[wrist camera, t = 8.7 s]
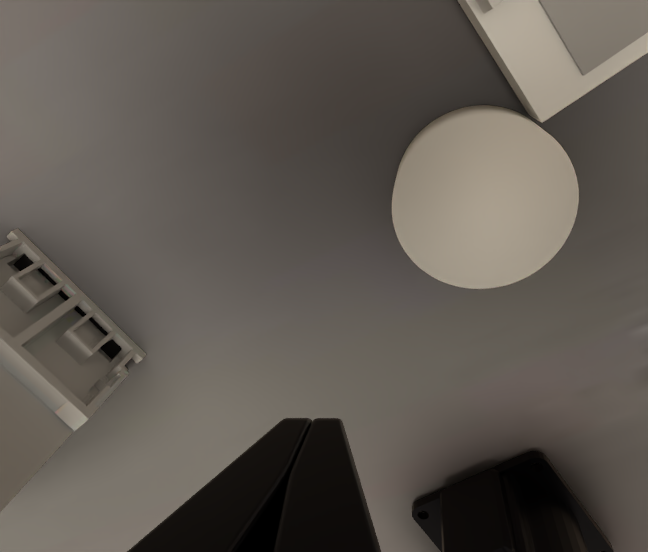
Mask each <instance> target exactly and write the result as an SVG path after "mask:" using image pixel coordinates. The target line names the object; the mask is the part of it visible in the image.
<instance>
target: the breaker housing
mask: <svg viewBox="0 0 648 552" xmlns="http://www.w3.org/2000/svg"><path fill="white" fill-rule="evenodd" d="M457 1H458V2H459V4H460V6H461V7H462V9H463V10H464V12H465V14H466V15H467V17H468V18H469V20H470V22H471V23H472V25H473V26H474V28H475V30H476V31H477V33H478V34H479V36H480V38H481V39H482V41H483V42H484V44H485V46H486V47H487V49H488V50H489V52H490V54H491V55H492V57H493V58H494V60H495V62H496V63H497V65H498V66H499V68H500V70H501V71H502V73H503V74H504V76H505V78H506V79H507V81H508V82H509V84H510V86H511V87H512V89H513V90H514V92H515V94H516V95H517V97H518V98H519V100H520V102H521V103H522V105H523V106H524V108H525V110H526V111H527V113H528V114H529V116H531V117H533V118H534V119H536V120H538V121H540V122H541V123H543V122H544V121H546V120H547V119H549V118H550V117H552V116H553V115H555V114H556V113H558V112H559V111H561V110H562V109H564V108H565V107H567V106H568V105H570V104H571V103H573V102H574V101H576V100H577V99H579V98H580V97H582V96H583V95H585V94H586V93H588V92H589V91H591V90H592V89H594V88H595V87H597V86H598V85H600V84H601V83H603V82H604V81H606V80H607V79H609V78H610V77H612V76H613V75H615V74H616V73H618V72H619V71H621V70H622V69H624V68H625V67H627V66H628V65H630V64H631V63H633V62H634V61H636V60H637V59H639V58H640V57H642V56H643V55H645V54H646V53H648V0H457Z"/></svg>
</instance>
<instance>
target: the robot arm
mask: <svg viewBox="0 0 648 552" xmlns="http://www.w3.org/2000/svg"><path fill="white" fill-rule="evenodd" d="M536 462H537V463H540V464H538V465H535V466H534V465H531V464H533V463H536ZM420 511H426V512H424V513H423V512H420ZM412 517H413V518H414V520H415V521H416V522H417V523H418V525H419V526H420V527H421V528H422V529H423V531H424V532H425V533H426V534H427V535H428V536H429V538H430V539H431V540H432V541H433V542H434V544H435V545H436V546H437V547H438V548H439V549H440V551H441V552H599V551H602V552H614V551H613V548H612V546H611V543H610V542H609V541H608V539H607V538H606V537H605V535H604V534H603V533H602V531H601V530H600V529H599V527H598V526H597V525H596V523H595V522H594V520H593V519H592V518H591V516H590V515H589V514H588V512H587V511H586V510H585V508H584V507H583V506H582V504H581V503H580V502H579V500H578V499H577V497H576V496H575V495H574V493H573V492H572V491H571V489H570V488H569V487H568V485H567V484H566V483H565V481H564V480H563V479H562V477H561V476H560V474H559V473H558V472H557V470H556V469H555V468H554V466H553V465H552V464H551V462H550V461H549V460H548V458H547V457H546V456H545V455H544V454H543V453H541V452H539V451H531V452H528V453H526V454H523V455H521V456H519V457H516V458H514V459H512V460H509V461H507V462H505V463H503V464H500V465H498V466H496V467H493V468H491V469H489V470H486V471H484V472H482V473H480V474H477V475H475V476H473V477H470V478H468V479H466V480H463V481H461V482H459V483H457V484H454V485H452V486H450V487H447V488H445V489H443V490H440V491H438V492H436V493H434V494H431V495H429V496H427V497H424V498H422V499H420V500H417V501H416V502H414V503H413V505H412ZM128 552H381V550H380V546H379V543H378V539H377V536H376V533H375V529H374V526H373V523H372V519H371V516H370V513H369V509H368V506H367V503H366V499H365V496H364V492H363V489H362V486H361V482H360V479H359V476H358V472H357V469H356V466H355V462H354V459H353V455H352V452H351V449H350V445H349V442H348V439H347V435H346V432H345V429H344V425H343V422H342V421H341V420H340V419H338V418H317V419H315V420H313V422H312V420H311V419H309V418H286V419H283V420H282V421H280V422H279V423H278V424H277V425H276V426H275V427H273V428H272V429H271V430H270V431H269V432H267V433H266V434H265V435H264V436H263V437H262V438H260V439H259V440H258V441H257V442H256V443H255V444H253V445H252V446H251V447H250V448H249V449H247V450H246V451H245V452H244V453H243V454H242V455H240V456H239V457H238V458H237V459H236V460H235V461H233V462H232V463H231V464H230V465H229V466H227V467H226V468H225V469H224V470H223V471H222V472H220V473H219V474H218V475H217V476H216V477H215V478H213V479H212V480H211V481H210V482H209V483H207V484H206V485H205V486H204V487H203V488H202V489H200V490H199V491H198V492H197V493H196V494H195V495H193V496H192V497H191V498H190V499H189V500H187V501H186V502H185V503H184V504H183V505H182V506H180V507H179V508H178V509H177V510H176V511H175V512H173V513H172V514H171V515H170V516H169V517H167V518H166V519H165V520H164V521H163V522H162V523H160V524H159V525H158V526H157V527H156V528H155V529H153V530H152V531H151V532H150V533H149V534H148V535H146V536H145V537H144V538H143V539H142V540H140V541H139V542H138V543H137V544H136V545H135V546H133V547H132V548H131V549H130V550H129V551H128Z"/></svg>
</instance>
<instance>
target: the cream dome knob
mask: <svg viewBox="0 0 648 552" xmlns="http://www.w3.org/2000/svg"><path fill="white" fill-rule="evenodd" d="M578 203H579V188H578V182H577V177H576V173H575V170H574V167H573V165H572V163H571V161H570V159H569V157H568V155H567V153H566V152H565V151H564V149H563V148H562V146H561V145H560V144H559V143H558V142H557V141H556V140H555V139H554V138H553V137H552V136H551V135H550V134H548V133H547V132H546V131H544V130H543V129H542V128H541V127H539V126H538V125H537V124H536V123H534V122H533V121H532V120H530V119H529V118H527V117H526V116H524V115H522V114H520V113H518V112H516V111H513V110H511V109H508V108H503V107H499V106H491V105H475V106H469V107H463V108H460V109H457V110H453V111H451V112H449V113H446V114H444V115H442V116H440V117H439V118H437V119H435V120H434V121H432V122H431V123H430V124H428V125H427V126H426V127H425V128H423V129H422V130H421V131H420V132H419V134H418V135H417V136H416V137H415V138H414V139H413V141H412V142H411V143H410V144H409V146H408V148H407V150H406V151H405V153H404V155H403V157H402V160H401V162H400V164H399V168H398V172H397V176H396V180H395V185H394V190H393V196H392V219H393V225H394V228H395V232H396V235H397V237H398V240H399V242H400V244H401V246H402V247H403V249H404V251H405V252H406V254H407V255H408V256H409V257H410V259H411V260H412V261H413V262H414V263H415V264H416V265H417V266H418V267H419V268H420V269H422V270H423V271H424V272H426V273H427V274H428V275H430V276H432V277H434V278H436V279H437V280H439V281H442V282H444V283H447V284H450V285H454V286H457V287H462V288H469V289H488V288H496V287H501V286H505V285H509V284H512V283H515V282H517V281H520V280H522V279H524V278H526V277H528V276H530V275H531V274H533V273H535V272H536V271H538V270H539V269H540V268H542V267H543V266H544V265H546V264H547V263H548V262H549V261H550V260H551V259H552V258H553V257H554V256H555V255H556V254H557V252H558V251H559V250H560V249H561V247H562V246H563V245H564V243H565V241H566V240H567V238H568V236H569V234H570V232H571V230H572V228H573V225H574V222H575V219H576V215H577V210H578Z"/></svg>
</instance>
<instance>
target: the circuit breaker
mask: <svg viewBox="0 0 648 552" xmlns="http://www.w3.org/2000/svg"><path fill="white" fill-rule="evenodd" d="M7 238H8V239H9V240H10V241H11V242H9V243H7V244H5V245H3V246H0V512H1V511H2V510H3V509H4V508H5V506H6V505H7V504H8V503H9V502H10V501H11V500H12V499H13V498H14V497H15V495H16V494H17V493H18V492H19V491H20V490H21V489H22V488H23V487H24V486H25V484H26V483H27V482H28V481H29V480H30V479H31V478H32V477H33V476H34V474H35V473H36V472H37V471H38V470H39V469H40V468H41V467H42V466H43V465H44V463H45V462H46V461H47V460H48V459H49V458H50V457H51V456H52V455H53V454H54V452H55V451H56V450H57V449H58V448H59V447H60V446H61V445H62V444H63V443H64V441H65V440H66V439H67V438H68V437H69V436H70V435H71V434H72V433H73V432H74V431H76V430H77V429H78V428H79V427H80V426H81V425H82V424H84V423H85V422H86V421H87V420H88V419H89V418H90V417H91V416H92V415H93V414H94V413H95V411H96V410H97V409H98V408H99V407H100V406H101V405H102V404H103V402H104V401H105V400H106V399H107V398H108V397H109V396H110V395H111V394H112V392H113V391H114V390H115V389H116V388H117V387H118V386H119V385H120V384H121V382H122V381H123V380H124V379H125V378H126V377H127V376H128V375H129V373H128V372H127V371H128V369H127V368H126V367H125V366H124V365H125V364H126V363H127V362H128V361H129V360H130V359H131V358H132V359H133V360H134V361H135V362H136V363H138V362H140V361H141V360H142V359H143V358H144V357H145V356H146V355H147V354H146V353H145V352H144V351H143V350H142V349H140V348H139V347H138V346H137V345H136V344H135V343H134V342H133V341H132V340H131V339H130V338H129V337H128V336H127V335H126V334H125V333H124V332H123V331H122V330H121V329H120V328H119V327H118V326H117V325H116V324H115V323H114V322H113V321H112V320H111V319H110V318H109V317H108V316H107V315H106V314H105V313H104V312H103V311H102V310H101V309H100V308H99V307H98V306H97V305H96V304H95V303H94V302H93V301H91V300H90V299H89V298H88V297H87V296H86V295H85V294H84V293H83V292H82V291H81V290H80V289H79V288H78V287H77V286H76V285H75V284H74V283H73V282H72V281H71V280H70V279H69V278H68V277H67V276H66V275H65V274H64V273H63V272H62V271H61V270H60V269H59V268H58V267H57V266H56V265H55V264H54V263H53V262H52V261H51V260H50V259H49V258H48V257H47V256H46V255H45V254H44V253H42V252H41V251H40V250H39V249H38V248H37V247H36V246H35V245H34V244H33V243H32V242H31V241H30V240H29V239H28V238H27V237H26V236H25V235H24V234H23V233H22V232H21V231H20V230H19V229H18V228H17V229H15V230H13V231H11V232H10V233H9V235H8V236H7ZM24 254H25V255H26V256H27V257H28V258H29V259H30V260H32V261H33V262H34V264H32V265H30V266H28V267H27V268H25V269H23V270H22V271H19V270H18V269H17V268H16V267H15V266H14V265H13V264H14V263H15V262H17V261H18V260H19V259H20V258H21V257H22V256H23V255H24ZM40 267H41V268H42V269H43V270H44V271H45V272H46V273H47V274H48V275H49V276H50V277H51V278H52V279H53V280H54V281H55V282H56V283H57V284H56V285H55V286H54V285H53V284H52V283H51V282H50V281H48V280H47V279H46V278H45V277H44V276H43V275H42V274H41V273H40V272H39V271H38V270H37V269H38V268H40ZM61 290H62V291H63V292H64V293H65V294H66V295H67V296H68V297H69V299H68V300H67V301H65V300H64V299H63V298H62V297H61V296H60V295H59V294H58V293H59V292H60V291H61ZM76 306H78V307H79V308H80V309H81V310H83V311H84V312H85V313H86V314H87V315H85V316H84V317H82V316H81V315H80V314H79V313H78V312H77V311H76V310H75V309H74V308H75V307H76ZM91 317H92V318H93V319H94V320H95V321H96V322H97V323H98V324H99V325H100V326H101V327H102V328H103V329H104V330H105V331H106V332H107V333H108V335H107V336H105V335H104V334H103V333H102V332H101V331H100V330H99V329H98V328H97V327H96V326H95V325H94V324H93V323H92V322H91V321H90V320H89V318H91ZM112 339H113V340H114V341H115V342H116V343H117V344H118V345H119V346H120V347H121V348H122V350H121V351H120V352H119V353H118V354H117V355H116V356H115V357H114V358H113V359H111V358H110V357H109V356H108V355H107V354H106V353H105V352H104V351H102V350H101V349H100V347H101V346H103V345H104V344H105V343H107V342H108V341H110V340H112Z"/></svg>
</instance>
